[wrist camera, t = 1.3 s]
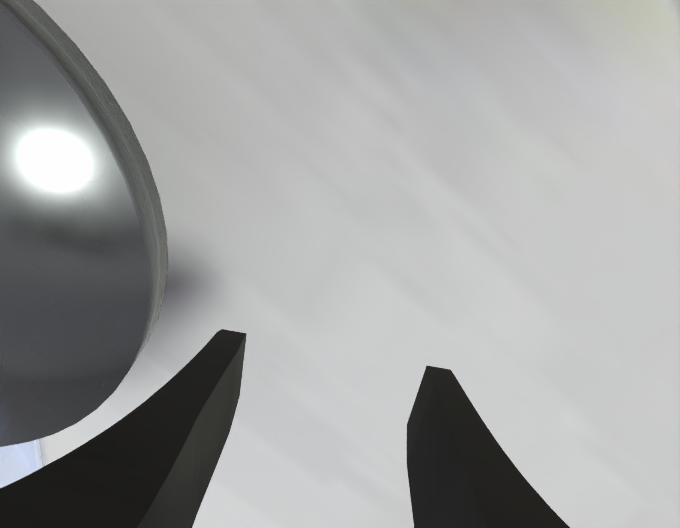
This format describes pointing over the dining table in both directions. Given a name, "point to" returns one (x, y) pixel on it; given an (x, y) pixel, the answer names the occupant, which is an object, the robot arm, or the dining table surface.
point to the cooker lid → (68, 232)
